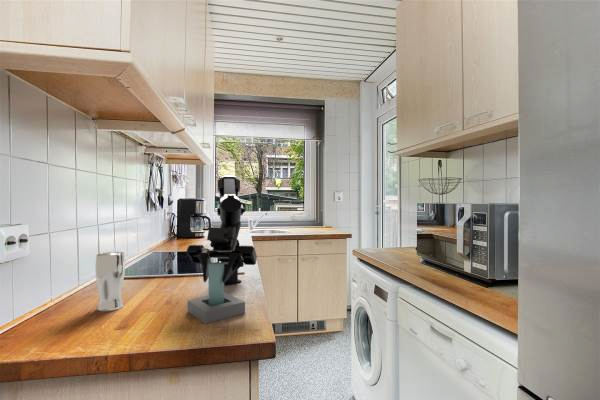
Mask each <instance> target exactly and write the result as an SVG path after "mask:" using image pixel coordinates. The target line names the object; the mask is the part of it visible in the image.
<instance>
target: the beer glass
mask: <svg viewBox="0 0 600 400" xmlns="http://www.w3.org/2000/svg"><path fill="white" fill-rule="evenodd" d="M95 257H96V258H95V278H96V284H97V285H96V286H97V290H98V296H99V297H98V298H99V299H98V304H97V311H99V312H104V313H105V312H113V311H117V310H120V309H121V308H123V307H124V303H123V299H122V297H123V296H122V290H123V285H124V284H123V283H124V279H125V271H126V265H125V264H126V261H125V253H124V252H123V251H109V252H108V251H107V252H101V253H97V254H96V256H95Z"/></svg>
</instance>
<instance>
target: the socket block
mask: <svg viewBox="0 0 600 400" xmlns="http://www.w3.org/2000/svg"><path fill="white" fill-rule="evenodd" d="M208 298H209V295H207V296H202V297H198V298H194V299H188V300H187V312H188V313H189V314H191V315H192V316H193V317H195V318H196V319H197V320H199V321H200V322H202V323H203V324H205V325H207V324H210V323H214V322H217V321H221V320H225V319H229V318H232V317H235V316H240V315H243V314H246V301H244V300H243V299H240V298H238V297H235V296H234V295H232V294H229V293H227V292H224V303H223V304H219V305H215V306H209V305H208Z"/></svg>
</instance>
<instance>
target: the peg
mask: <svg viewBox="0 0 600 400" xmlns="http://www.w3.org/2000/svg"><path fill="white" fill-rule="evenodd" d="M223 276H224V263H221V261H219V262H212V263H209V277H208V296H209V298H208V305H209V306H215V305H219V304H223V303H224V293H225V285H224V283H223Z"/></svg>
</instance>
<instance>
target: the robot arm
mask: <svg viewBox="0 0 600 400" xmlns="http://www.w3.org/2000/svg"><path fill="white" fill-rule="evenodd" d="M240 191H241V180H240V179H238V178H237V176H234V175H223V176H222V177H221V178H218V180H217V192H219V204H217V207H216V208H217V216H218V217H219V219H220V221H221V223H220V227H208V232H207V237H206V240H207V241H209V242H210V244H209V245H210V247H211V248H212V249H209V248H206V247H204V245H203V244H190V245H188V246H187V249H186V251H185V253H186V255H187V257H188V259H189V260H190V262H191V263H192V264H196V265H197V264H199V265H200V264H201V266H202V280H203V282H204V283H207V281H208V280H209V263H213V262H212V261H211V260H212V259H217V262H221V263H224V276H223V283H224V286H228V285H234V284H237V283H238V284H239V283H242V280H241V279H239V271H238V270H239V269H240V268H243V267H244V265H246V266H247V265H249V266H256V264H257V260H258V258H257V257H258V256H257V252H256V249H255V247H254V245H240V241H239V239H238V236H239V233H240V229H241V226H242V222H241V216H243V214H244V213H246V208H245V207H244V206H243V204H242V202H241V200H240V197H239V193H240Z"/></svg>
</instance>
